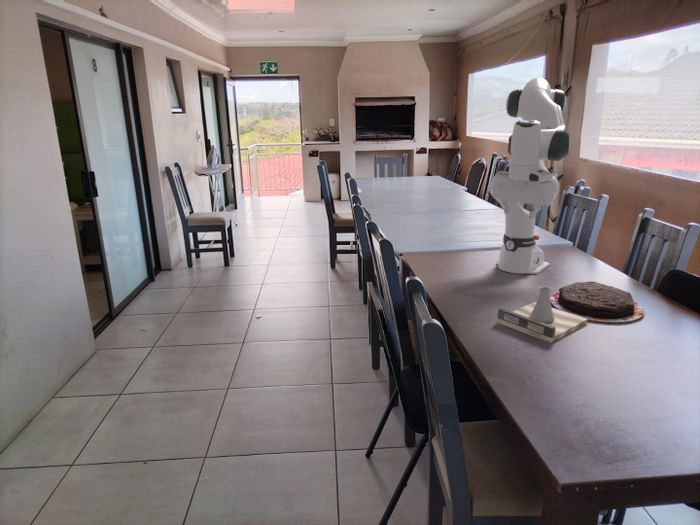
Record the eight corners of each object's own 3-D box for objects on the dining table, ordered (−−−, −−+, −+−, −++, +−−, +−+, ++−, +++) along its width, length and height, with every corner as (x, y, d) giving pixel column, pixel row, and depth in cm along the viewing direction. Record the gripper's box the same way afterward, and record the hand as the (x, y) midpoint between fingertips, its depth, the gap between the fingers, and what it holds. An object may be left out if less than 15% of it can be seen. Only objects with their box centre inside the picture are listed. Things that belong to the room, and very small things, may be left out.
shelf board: (533, 306, 159) (535, 293, 158) (586, 323, 146) (588, 310, 144) (496, 322, 148) (497, 309, 146) (550, 343, 134) (552, 328, 133)
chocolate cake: (605, 333, 140) (609, 312, 138) (531, 302, 164) (533, 284, 162) (663, 313, 153) (666, 294, 151) (586, 287, 176) (588, 270, 174)
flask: (553, 315, 149) (557, 285, 146) (555, 324, 142) (559, 293, 139) (529, 312, 151) (532, 283, 148) (529, 322, 144) (532, 291, 141)
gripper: (489, 171, 158) (487, 212, 163) (546, 177, 143) (542, 222, 147) (501, 169, 162) (498, 209, 166) (558, 175, 146) (553, 219, 151)
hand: (519, 215), depth 157 cm, fingers open, 8 cm apart
